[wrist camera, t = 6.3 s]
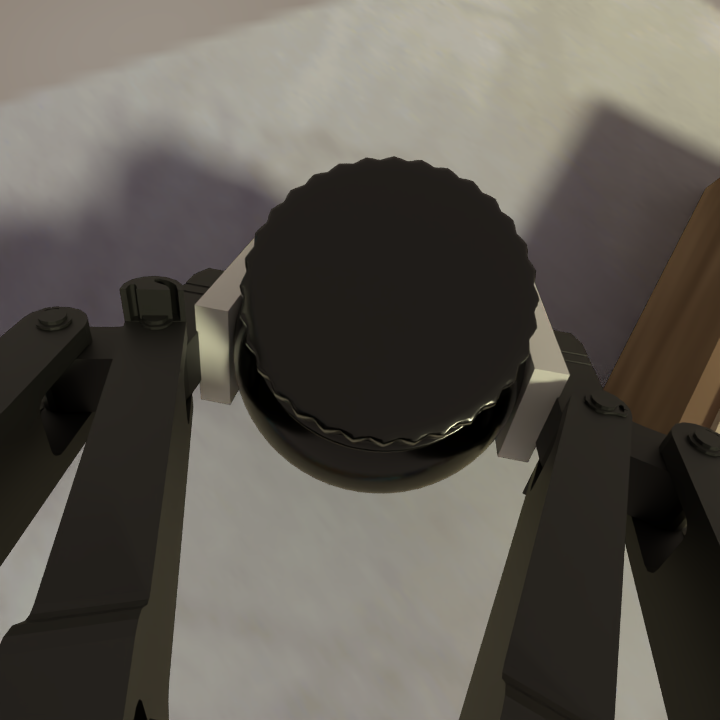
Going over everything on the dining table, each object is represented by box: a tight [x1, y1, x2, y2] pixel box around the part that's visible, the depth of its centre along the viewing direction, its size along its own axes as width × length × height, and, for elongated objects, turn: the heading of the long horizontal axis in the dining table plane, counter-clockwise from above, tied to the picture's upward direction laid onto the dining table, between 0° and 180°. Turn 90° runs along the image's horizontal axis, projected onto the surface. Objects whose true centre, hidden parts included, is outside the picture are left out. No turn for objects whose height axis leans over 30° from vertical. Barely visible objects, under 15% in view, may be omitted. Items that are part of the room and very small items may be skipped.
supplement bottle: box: [233, 157, 539, 493], centre depth 14 cm, size 7×7×12 cm
